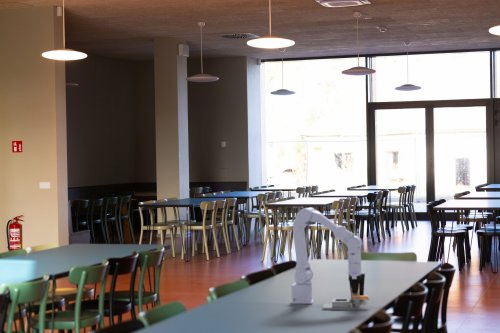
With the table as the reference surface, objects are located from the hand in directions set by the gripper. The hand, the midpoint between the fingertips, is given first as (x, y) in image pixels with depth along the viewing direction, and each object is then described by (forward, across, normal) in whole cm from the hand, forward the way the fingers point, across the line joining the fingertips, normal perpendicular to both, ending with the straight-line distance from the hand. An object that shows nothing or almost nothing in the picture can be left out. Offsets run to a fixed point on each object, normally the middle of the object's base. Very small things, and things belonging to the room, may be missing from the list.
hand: (355, 292), depth 359 cm
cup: (+6, +14, 0) cm, 15 cm away
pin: (+2, -8, -3) cm, 9 cm away
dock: (+5, -8, +6) cm, 11 cm away
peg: (+2, 0, 0) cm, 2 cm away
